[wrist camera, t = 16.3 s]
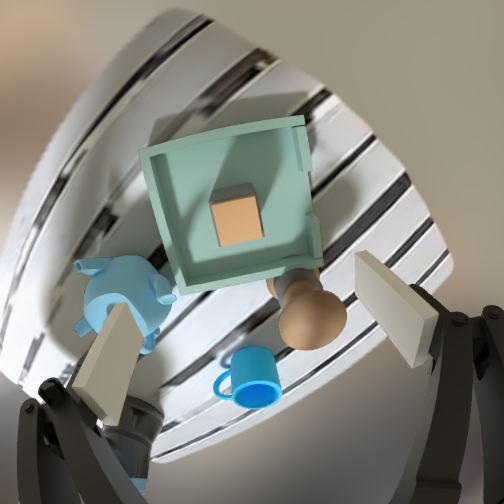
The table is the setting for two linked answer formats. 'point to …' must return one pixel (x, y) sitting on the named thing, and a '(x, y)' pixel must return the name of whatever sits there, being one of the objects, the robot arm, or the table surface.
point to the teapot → (125, 294)
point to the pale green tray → (225, 175)
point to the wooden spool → (307, 309)
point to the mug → (252, 379)
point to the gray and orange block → (236, 214)
